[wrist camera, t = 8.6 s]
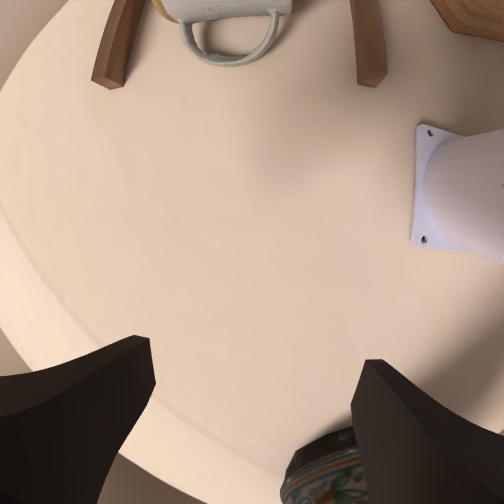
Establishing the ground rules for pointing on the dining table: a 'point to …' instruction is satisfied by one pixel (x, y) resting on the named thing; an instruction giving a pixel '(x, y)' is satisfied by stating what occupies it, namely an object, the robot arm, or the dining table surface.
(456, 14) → the candle holder
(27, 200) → the dining table surface
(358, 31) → the walnut dock
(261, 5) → the ceramic mug
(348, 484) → the beer stein
